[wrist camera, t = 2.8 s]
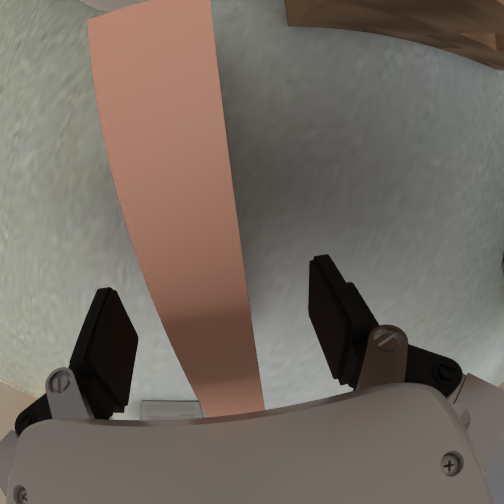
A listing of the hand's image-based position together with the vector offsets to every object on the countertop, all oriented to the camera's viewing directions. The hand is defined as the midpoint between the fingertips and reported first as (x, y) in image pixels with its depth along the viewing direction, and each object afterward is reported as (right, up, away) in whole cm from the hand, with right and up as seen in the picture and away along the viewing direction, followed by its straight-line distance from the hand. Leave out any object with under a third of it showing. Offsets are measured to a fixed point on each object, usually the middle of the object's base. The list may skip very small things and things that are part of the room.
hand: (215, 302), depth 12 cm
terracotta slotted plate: (-1, +5, +8) cm, 9 cm away
